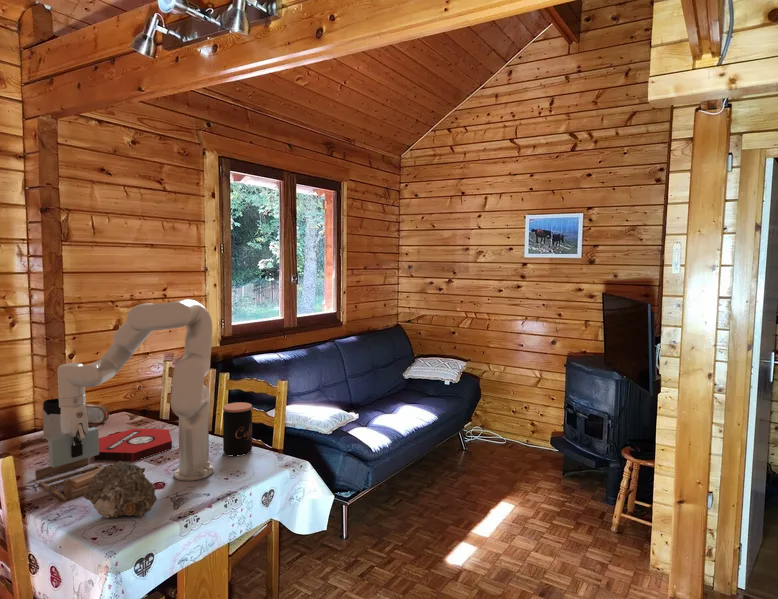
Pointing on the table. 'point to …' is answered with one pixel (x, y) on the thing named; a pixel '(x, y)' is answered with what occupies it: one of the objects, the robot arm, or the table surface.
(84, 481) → the offcut top
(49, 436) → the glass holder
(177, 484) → the table surface
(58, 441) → the grey-green rectangular block
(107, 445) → the red flat hexagonal block
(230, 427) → the coffee jar
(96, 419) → the tin
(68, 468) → the rack
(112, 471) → the rock
